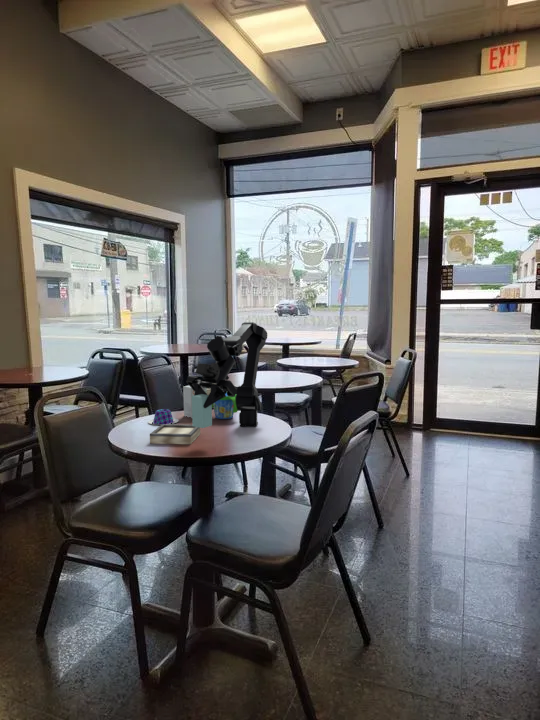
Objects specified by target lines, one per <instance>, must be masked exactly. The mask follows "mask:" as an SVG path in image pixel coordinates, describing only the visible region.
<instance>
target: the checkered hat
mask: <svg viewBox="0 0 540 720" xmlns="http://www.w3.org/2000/svg"><path fill="white" fill-rule="evenodd" d="M173 420H174V421H175V422H174V421H173ZM179 421H180V420H179V419H178V418H174V417H173V414H172V411H171V409H168V408H162V409H157V410H155V413H154V417H153V419H150V420H148V422H147V423H148V424H150V425H154V426H155V425H156V426H161V425H162V424H171V423H172V424H175V423H176V424H177V423H178V422H179ZM152 422H153V424H152Z"/></svg>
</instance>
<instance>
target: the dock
mask: <svg viewBox="0 0 540 720" xmlns="http://www.w3.org/2000/svg"><path fill="white" fill-rule="evenodd" d="M200 435H201V428H199V427H194V426H193V425H192V424H177V423H176V424H175V423H173V424H171V423H170V424H162V425H159V426H158V427H157V428H155V429H154V430H153V431H151V433H149V443H150V444H155V445H156V444H159V445H160V444H161V445H192V444H193V443H194V442H195V441H196V439H197V438H198V437H199V436H200ZM192 442H193V443H192Z"/></svg>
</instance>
